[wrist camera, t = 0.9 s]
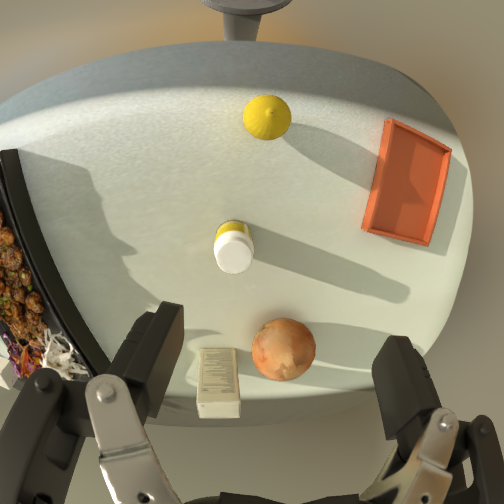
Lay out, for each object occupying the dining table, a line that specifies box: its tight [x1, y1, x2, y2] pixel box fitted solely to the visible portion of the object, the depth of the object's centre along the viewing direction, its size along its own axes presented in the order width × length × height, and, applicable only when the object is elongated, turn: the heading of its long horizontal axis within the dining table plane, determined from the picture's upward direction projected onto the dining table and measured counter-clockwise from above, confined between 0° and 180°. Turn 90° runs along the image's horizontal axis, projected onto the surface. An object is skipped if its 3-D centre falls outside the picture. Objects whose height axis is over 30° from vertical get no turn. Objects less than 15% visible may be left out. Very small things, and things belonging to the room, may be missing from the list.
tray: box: [361, 119, 452, 247], centre depth 36 cm, size 17×13×2 cm
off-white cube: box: [0, 356, 18, 390], centre depth 43 cm, size 6×6×6 cm
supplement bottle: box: [214, 219, 254, 274], centre depth 34 cm, size 5×5×8 cm
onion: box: [252, 318, 316, 381], centre depth 39 cm, size 10×10×10 cm
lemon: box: [243, 95, 291, 140], centre depth 29 cm, size 6×6×8 cm
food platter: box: [0, 149, 111, 383], centre depth 33 cm, size 45×25×10 cm, turn 16°
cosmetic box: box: [197, 348, 241, 418], centre depth 40 cm, size 6×4×12 cm
